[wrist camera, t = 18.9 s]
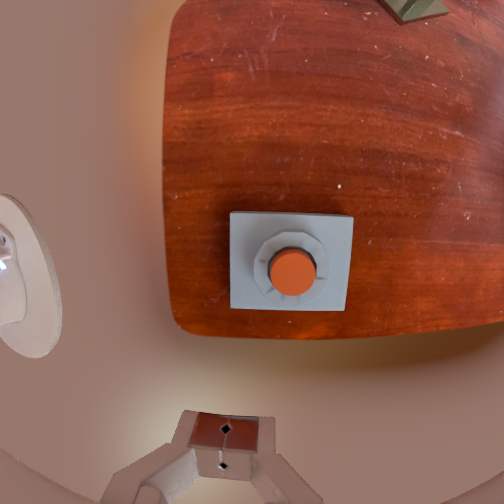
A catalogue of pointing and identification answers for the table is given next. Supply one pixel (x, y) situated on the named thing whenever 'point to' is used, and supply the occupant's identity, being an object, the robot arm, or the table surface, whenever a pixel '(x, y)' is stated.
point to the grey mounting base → (281, 238)
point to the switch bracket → (414, 9)
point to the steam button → (292, 272)
